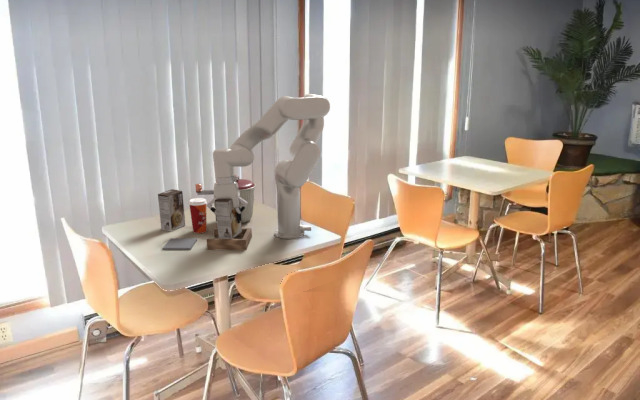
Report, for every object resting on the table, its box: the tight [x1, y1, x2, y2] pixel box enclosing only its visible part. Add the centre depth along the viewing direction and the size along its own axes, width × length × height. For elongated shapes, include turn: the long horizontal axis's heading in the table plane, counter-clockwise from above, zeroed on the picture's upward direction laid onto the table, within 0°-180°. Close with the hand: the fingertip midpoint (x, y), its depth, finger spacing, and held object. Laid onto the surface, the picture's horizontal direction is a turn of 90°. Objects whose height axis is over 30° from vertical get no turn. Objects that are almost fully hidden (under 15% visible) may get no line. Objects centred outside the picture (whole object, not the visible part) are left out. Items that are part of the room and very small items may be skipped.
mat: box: [162, 237, 198, 251], centre depth 229 cm, size 11×11×1 cm
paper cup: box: [188, 197, 208, 234], centre depth 243 cm, size 8×8×14 cm
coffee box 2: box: [214, 199, 243, 239], centre depth 228 cm, size 9×6×16 cm
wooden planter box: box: [206, 227, 253, 251], centre depth 230 cm, size 16×18×18 cm
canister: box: [234, 174, 257, 224], centre depth 257 cm, size 18×18×21 cm
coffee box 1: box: [157, 189, 186, 232], centre depth 248 cm, size 9×6×16 cm
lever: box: [195, 183, 214, 196], centre depth 233 cm, size 15×3×4 cm, turn 96°
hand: (229, 222), depth 228 cm, fingers closed on coffee box 2, 7 cm apart
